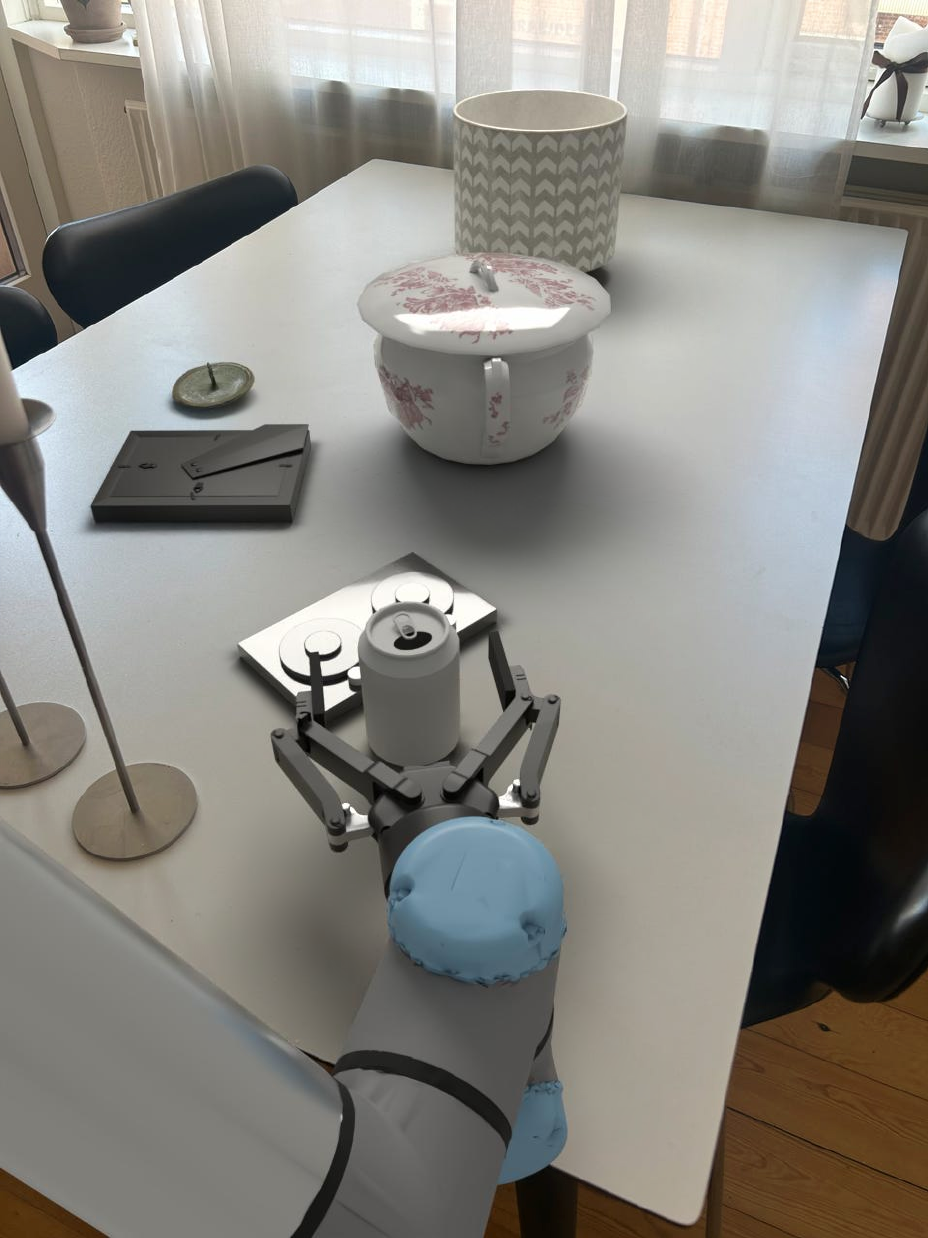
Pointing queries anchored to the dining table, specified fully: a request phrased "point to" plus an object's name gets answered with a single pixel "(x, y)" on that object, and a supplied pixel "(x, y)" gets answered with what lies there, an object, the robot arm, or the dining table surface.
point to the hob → (355, 630)
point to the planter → (539, 174)
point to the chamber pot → (484, 350)
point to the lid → (212, 385)
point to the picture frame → (206, 476)
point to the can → (410, 683)
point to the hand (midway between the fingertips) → (405, 654)
